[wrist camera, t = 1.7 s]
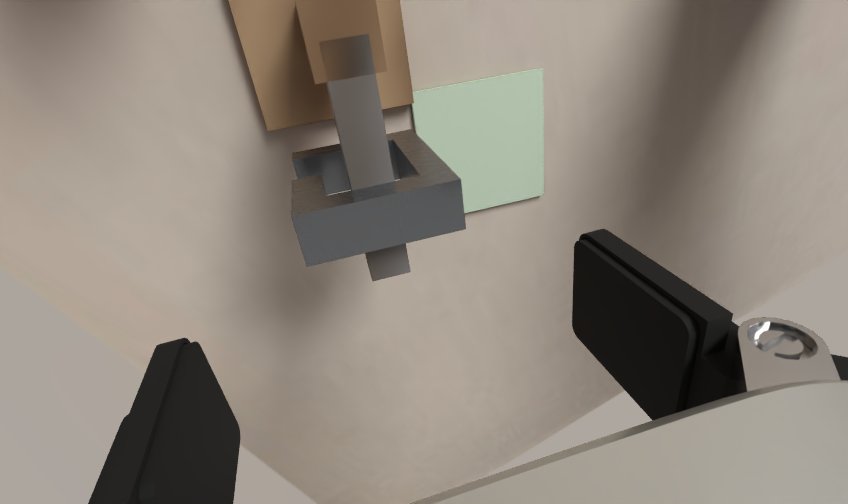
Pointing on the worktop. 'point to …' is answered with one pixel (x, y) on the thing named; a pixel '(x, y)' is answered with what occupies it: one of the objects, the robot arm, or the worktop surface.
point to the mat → (487, 135)
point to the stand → (333, 81)
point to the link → (373, 201)
